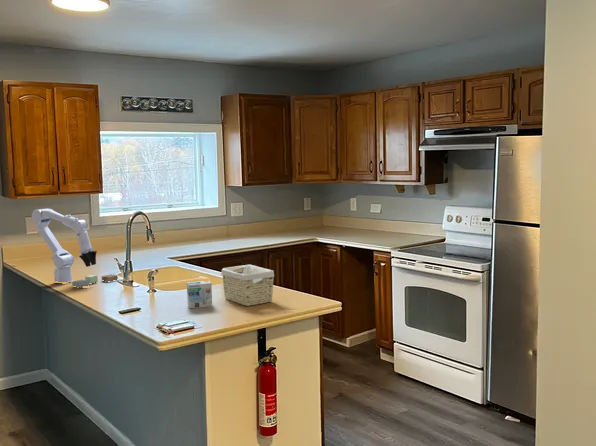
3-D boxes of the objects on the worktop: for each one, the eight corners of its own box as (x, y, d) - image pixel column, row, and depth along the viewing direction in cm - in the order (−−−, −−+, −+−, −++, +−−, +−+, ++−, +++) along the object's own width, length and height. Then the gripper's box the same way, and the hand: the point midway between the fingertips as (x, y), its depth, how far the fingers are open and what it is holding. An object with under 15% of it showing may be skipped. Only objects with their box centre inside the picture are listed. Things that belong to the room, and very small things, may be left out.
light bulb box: (188, 309, 258) (187, 284, 257) (187, 305, 265) (186, 282, 263) (213, 306, 261) (211, 282, 260) (210, 303, 268) (209, 280, 266)
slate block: (72, 288, 310) (72, 281, 310) (82, 286, 315) (81, 279, 315) (79, 288, 307) (79, 281, 306) (89, 286, 312) (88, 279, 311)
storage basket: (221, 298, 277) (219, 267, 275) (251, 293, 286) (250, 263, 284) (244, 308, 257) (243, 275, 255) (276, 302, 266) (275, 270, 264)
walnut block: (102, 282, 325) (101, 276, 324) (111, 280, 329) (110, 274, 329) (108, 283, 321) (108, 277, 321) (117, 281, 326) (117, 275, 326)
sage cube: (85, 284, 319) (85, 276, 319) (92, 282, 323) (91, 274, 323) (90, 285, 317) (90, 277, 316) (97, 283, 321) (97, 275, 320)
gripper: (96, 237, 315) (103, 262, 315) (86, 241, 326) (93, 265, 326) (83, 240, 310) (91, 265, 310) (74, 244, 321) (80, 268, 321)
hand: (91, 265), depth 318 cm, fingers open, 7 cm apart
